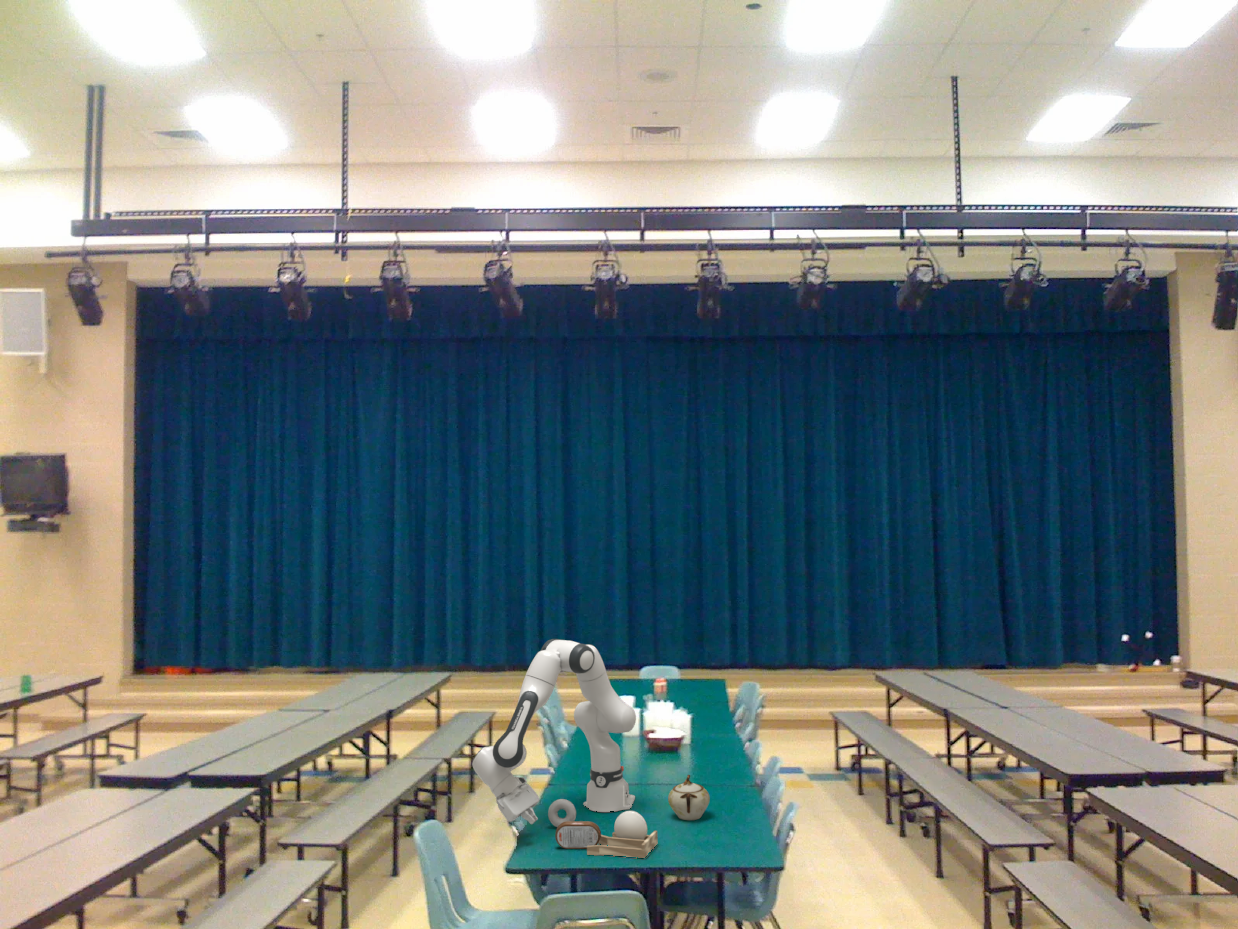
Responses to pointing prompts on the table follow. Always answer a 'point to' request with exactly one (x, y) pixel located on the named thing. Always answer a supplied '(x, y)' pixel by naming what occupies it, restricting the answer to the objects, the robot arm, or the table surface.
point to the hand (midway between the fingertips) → (534, 822)
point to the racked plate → (630, 826)
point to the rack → (624, 846)
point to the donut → (557, 806)
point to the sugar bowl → (688, 800)
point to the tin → (577, 834)
